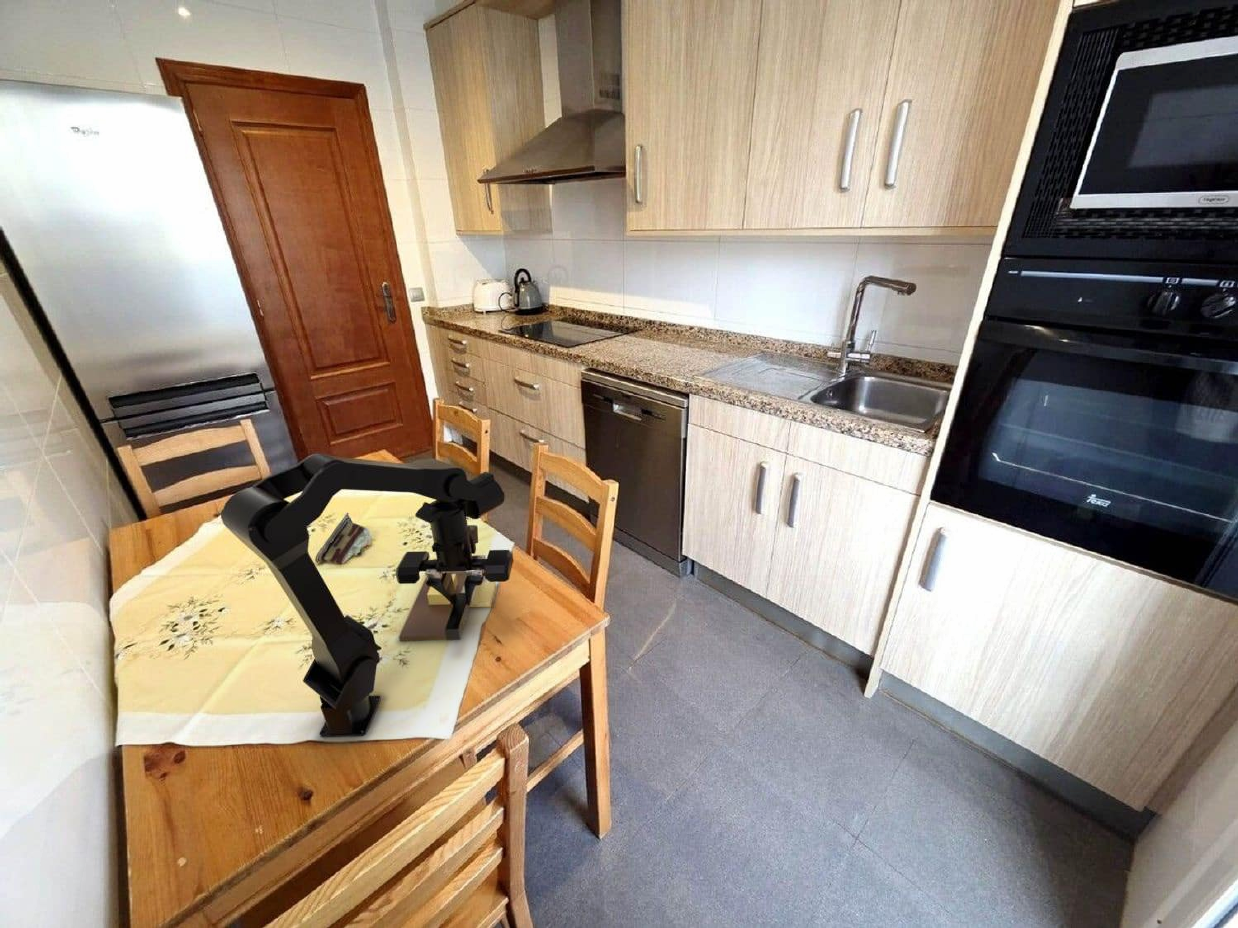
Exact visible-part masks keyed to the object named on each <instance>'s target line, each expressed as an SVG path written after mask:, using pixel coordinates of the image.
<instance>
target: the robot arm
mask: <svg viewBox="0 0 1238 928" xmlns="http://www.w3.org/2000/svg"><path fill="white" fill-rule="evenodd" d="M342 490H344V491H345V490H346V491H366V492H390V493H409V494H410V493H411V494H415V495H419V496H422V497H426V498H428V499H431V500H434V501H431V502H430V503H429V502H427V501H424V502H423V503H422V506H421V507H420V508H419V509H418V510H417V511H416V513H415V514H414V516H415V518H416V519H419V520H422V521H424V522H426V523H427V524H429V525H430V531H431V536H432V540H433V544H432V546H431V550H432V553H435V556H436V558H432V559H430V558H431V557H430V552H429V551H427V550H426V551H425V550H423V551H421V550H420V551H418V550H417V551H406V552H405V553H404V554H403V556H402V558H401V560H400V561H399V563H398V565H397V567H396V569H395V577H396V582H397V583H398V584H399V585H410V584H411V585H414V584H416V583H417V582H419V581H420V579H421V575H420V572H424V576H427V581H426V585H427V586H428V587H433V588H434V589H435V590H437V591H438V592H439V593H441V594H442V595H443V596H444V597H445V598H446V599H447V600H448V601H449V602H451V603H452V604H453V605H454V602H455V599H456V596H457V595H456V591H455V587H454V583H453V579H452V574H451V572H467V573H468V574H467V577H466V580H465V582H464V588H465V595H466V601H467V604H468V605H470V604H471V601H472V596H473V592H474V589H475V586H478V585H481V584H482V582H484V580H486V581H487V582H495V583H502V582H504V583H506V582H507V581H509V580H510V577H511V572H512V569H513V564H514V555H513V552H512V551H511V550H510V549H489V550H488V554H487V556H486V555H484V554H481V555H479V554H477V555H476V553H477V546H476V544H478V543H479V532H478V531H479V530H478V525H475V524H468V519H467V518H469V519H472V520H478V519H481V518H482V517H483V516H485V515H487V514H488V513H490V512H491V511H493V510H494V509H496V508H497V509H498V507H500V506H501V505H503V504H504V502H505V499H506V498H505V497H506V496H505V492H504V491H503V489H502V486H501V485H500V484H499V482H498V481H496V479H495V474H494V473H491V472H489V471H483V472H481V473H480V474H478V475H477V476H476V477H474V478H472V479H470V480H468V476H467V474H466V470H465V469H464V468H461V467H458V466H456V465H453V464H451V463H448V462H445V461H442V460H440V459H437V458H423V459H421V458H420V459H415V460H413V461H411V462H404V463H403V462H393V461H383V460H373V459H364V458H355V457H345V456H335V455H330V454H327V453H323V452H317V453H313V454H310V455H308V456H307V457H305V458H304V459H302V460H301V461H300V462H298V463H297V464H295V465H293V466H290V467H287V468H285V469H283V470H280V471H277V472H275V473H271V474H269V475H267V476H266V477H264V478H262V479H261V480H260V481H258V482H257V483H255V484H253V485H252V486H251V487H247V488H245V489H242V490H238V491H237V492H236V493H234V494H233V495H232V496H230V497H229V498H228V500H227V501H226V502H225V504H224V506H223V508H222V509H221V511H220V519H221V521H222V524H223V525H224V526H225V528H227V530H229V532H231V533H232V534H233V535H234V536H235V537H236V538H237V539H238V540H239V541H240V542H241V543H242V544H244V545H245V546H246V548H248V549H249V550H250V551H252V553H254V554H255V555H256V556H257V557H258V558H260V559H261V560H262V561H263V562H264V563H265V564H266V565H267V567H268V568H269V570H270V571H271V573H272V574H273V576H274V578H275V579H276V581H277V582H278V584H279V586H280V587H281V588H282V590H283V592H284V593H285V595H286V596H287V598H288V600H289V601H290V603H291V604H292V606H293V608H294V609H295V611H296V612H297V613H298V615H299V617H300V619H301V621H303V623H304V624H305V626H306V628H307V629H308V631H309V632H310V634H311V646H310V648H311V651H312V655H313V660H312V662H311V664H310V666H309V668H308V669H307V672H306V674H305V675H304V676H303V679H302V682H303V683H304V684H305V685H306V686H307V687H309V689H311V690H312V691H313V692H314V693H315V694H317V695H318V696H319V700H320V703H321V705H320V710H321V713H322V716H323V718H324V720H325V722H324V724H323V726H322V728H321V730H320V732H319V737H320V738H343V737H344V738H345V737H346V738H347V737H363V736H365V735H366V734H367V732H368V730H369V728H370V724H371V723H372V721H373V718H374V716H375V714H376V711H377V709H378V708H379V704H380V702H381V700H382V699H381V696H380V695H370V694H372V693H373V692H374V690H375V683H376V682H375V680H376V674H377V666H378V664H379V663H380V662H381V657H380V653H379V651H381V650H382V646H380V645H379V644H377V643H376V640H375V636H374V633H373V631H372V630H371V629H370V628H368V627H367V626H365V625H364V624H362V623H361V622H359V621H358V620H356V619H355V618H354V617H352V616H350V615H349V614H346V615H344V613H343V611H342V610H341V608H340V606H339V605H338V603H337V601H336V599H335V598H334V595H333V594H332V592H331V590H330V589H329V587H328V585H327V583H326V581H325V580H324V578H323V576H322V575H321V573H320V571H319V569H318V568H317V566H316V564H315V562H314V560H313V559H312V557H311V555H310V553H309V546H310V545H309V543H310V534H309V533H310V532H309V530H308V529H309V528H308V527H309V526H310V525H311V524H312V523H314V522H315V521H316V520H318V519H319V518H320V517H321V516H322V514H323V513H324V511H325V510H326V508H327V506H328V505H329V503H330V502H331V500H332V499H333V497H334V496H335V495H337V494H338V493H339V492H340V491H342ZM297 494H299V495H298V496H297V497H296V498H294V499H293V500H291V501H288V500H286V499H287V498H290V497H293V496H295V495H297Z"/></svg>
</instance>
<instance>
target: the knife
mask: <svg viewBox="0 0 1238 928" xmlns="http://www.w3.org/2000/svg"><path fill="white" fill-rule="evenodd" d="M476 588H477V586H475V589H474V592H473V596H472V601H471V602H473V598H474V595H475V592H476ZM470 605H471V604H470ZM470 605H468V604H467V601H466V595H465V588H464V587H463V590H462V593H457V596H456V599H455V602H454V605H453V608H452V611H451V613H450V616H449V619H448V622H447V625H446V628H445V634H446V638H447V640H446V641H457V640H458V641H460V640H461V637H462V634H463V631H464V627H465V625H466V621H467V618H468V615H469V611H470V609H471V607H470Z"/></svg>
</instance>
